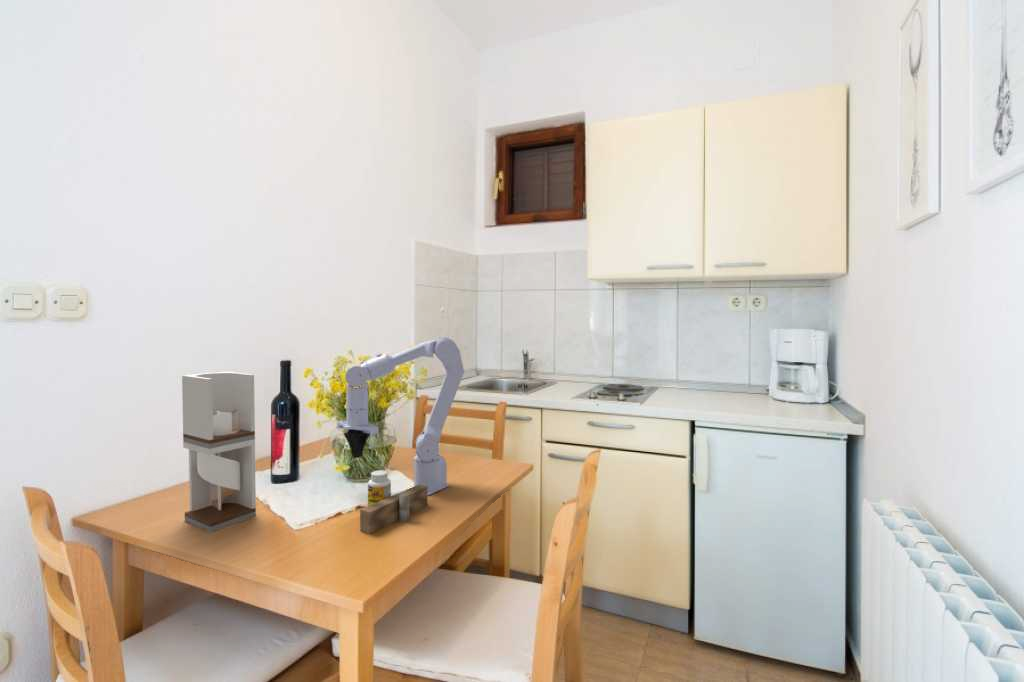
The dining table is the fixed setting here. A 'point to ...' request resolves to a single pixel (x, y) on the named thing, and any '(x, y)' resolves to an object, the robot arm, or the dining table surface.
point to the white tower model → (219, 448)
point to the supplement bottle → (378, 487)
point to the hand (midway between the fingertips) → (357, 456)
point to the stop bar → (393, 509)
